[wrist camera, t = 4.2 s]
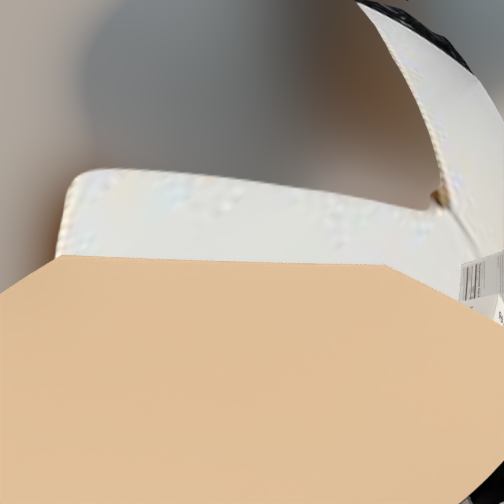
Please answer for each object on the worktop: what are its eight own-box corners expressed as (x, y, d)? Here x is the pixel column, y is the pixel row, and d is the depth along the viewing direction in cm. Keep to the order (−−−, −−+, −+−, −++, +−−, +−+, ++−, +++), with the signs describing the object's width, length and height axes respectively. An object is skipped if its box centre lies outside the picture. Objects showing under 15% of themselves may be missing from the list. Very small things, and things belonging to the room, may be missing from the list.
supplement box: (480, 398, 23) (528, 402, 15) (436, 395, 22) (499, 404, 13) (498, 292, 29) (542, 280, 20) (460, 263, 27) (515, 244, 18)
